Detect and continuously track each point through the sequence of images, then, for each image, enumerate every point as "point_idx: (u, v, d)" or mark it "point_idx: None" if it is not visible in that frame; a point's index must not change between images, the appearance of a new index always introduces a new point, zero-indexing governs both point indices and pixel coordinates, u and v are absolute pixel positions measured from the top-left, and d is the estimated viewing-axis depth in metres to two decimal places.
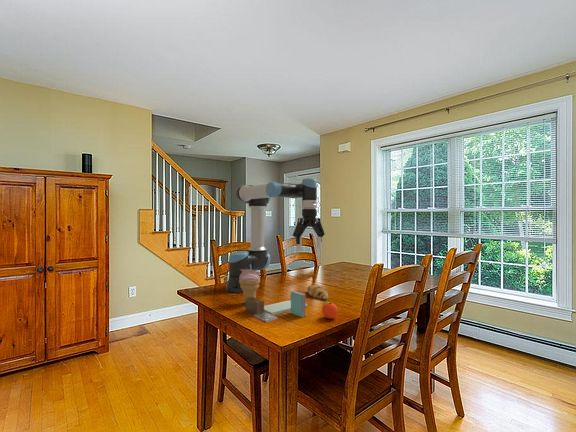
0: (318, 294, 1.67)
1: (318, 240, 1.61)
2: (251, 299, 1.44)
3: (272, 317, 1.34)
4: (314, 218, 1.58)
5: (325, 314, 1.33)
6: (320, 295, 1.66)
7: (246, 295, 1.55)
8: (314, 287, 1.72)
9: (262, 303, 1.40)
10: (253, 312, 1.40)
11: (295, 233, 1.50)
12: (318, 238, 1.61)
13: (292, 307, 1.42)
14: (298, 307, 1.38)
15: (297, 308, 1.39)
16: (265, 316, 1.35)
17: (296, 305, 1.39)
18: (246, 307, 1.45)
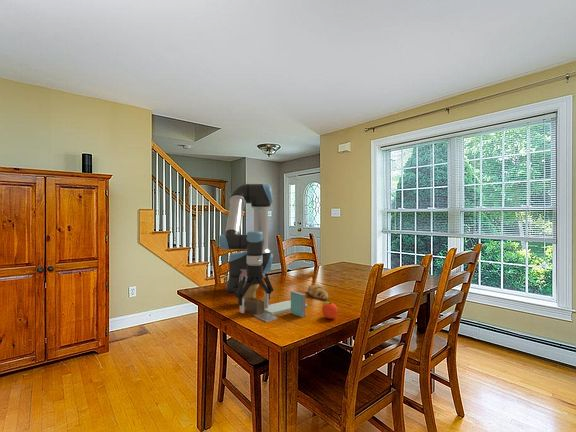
0: (318, 294, 1.67)
1: (266, 297, 1.47)
2: (251, 299, 1.44)
3: (272, 317, 1.34)
4: (260, 274, 1.44)
5: (325, 314, 1.33)
6: (320, 295, 1.66)
7: (246, 295, 1.55)
8: (314, 287, 1.72)
9: (262, 303, 1.40)
10: (253, 312, 1.40)
11: (236, 294, 1.37)
12: (266, 295, 1.47)
13: (292, 307, 1.42)
14: (298, 307, 1.38)
15: (297, 308, 1.39)
16: (265, 316, 1.35)
17: (296, 305, 1.39)
18: (246, 307, 1.45)
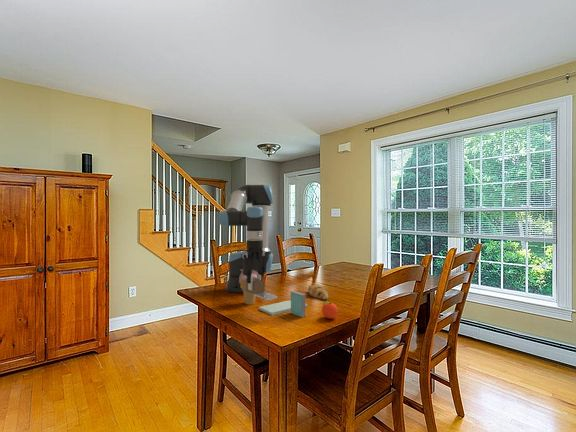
0: (318, 294, 1.67)
1: None
2: None
3: (272, 296, 1.34)
4: (261, 249, 1.44)
5: (325, 314, 1.33)
6: (320, 295, 1.66)
7: (246, 295, 1.55)
8: (314, 287, 1.72)
9: (262, 283, 1.40)
10: (253, 292, 1.41)
11: (244, 272, 1.40)
12: (258, 276, 1.45)
13: (292, 307, 1.42)
14: (298, 307, 1.38)
15: (297, 308, 1.39)
16: (265, 295, 1.36)
17: (296, 305, 1.39)
18: (246, 287, 1.45)
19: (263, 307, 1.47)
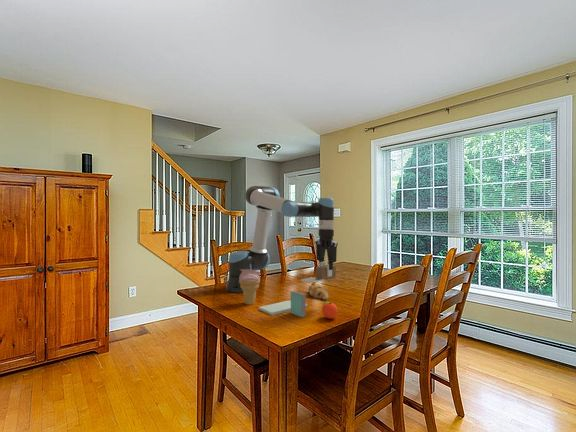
0: (318, 294, 1.67)
1: None
2: (326, 266, 1.53)
3: (308, 280, 1.43)
4: (329, 239, 1.49)
5: (325, 314, 1.33)
6: (320, 295, 1.66)
7: (246, 295, 1.55)
8: (314, 287, 1.72)
9: (320, 269, 1.48)
10: None
11: None
12: None
13: (292, 307, 1.42)
14: (298, 307, 1.38)
15: (297, 308, 1.39)
16: (311, 279, 1.46)
17: (296, 305, 1.39)
18: None
19: (263, 307, 1.47)
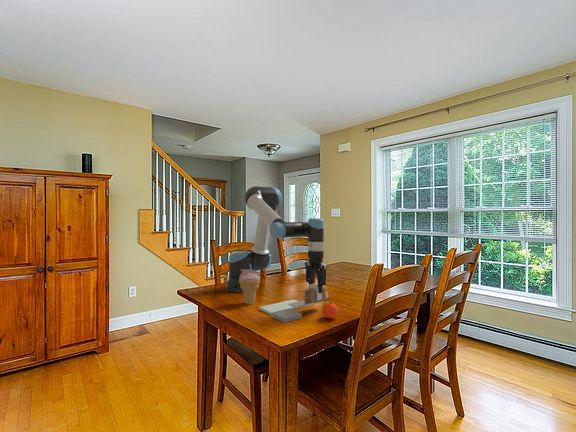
0: None
1: None
2: None
3: (296, 305, 1.38)
4: (318, 261, 1.44)
5: (325, 314, 1.33)
6: None
7: (246, 295, 1.55)
8: (315, 287, 1.72)
9: (309, 292, 1.43)
10: None
11: None
12: None
13: None
14: None
15: None
16: (299, 303, 1.42)
17: None
18: None
19: (263, 307, 1.47)
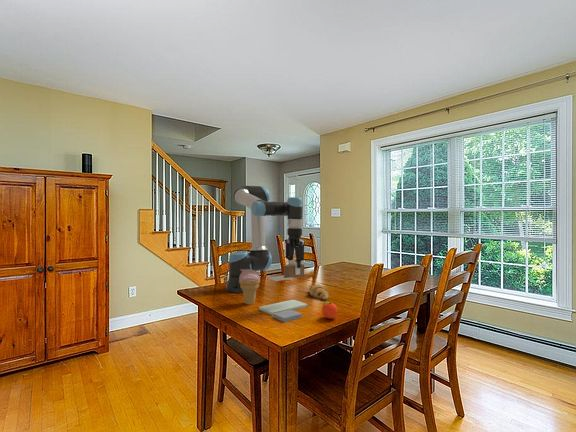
0: (318, 294, 1.67)
1: None
2: None
3: (275, 278, 1.46)
4: (296, 237, 1.52)
5: (325, 314, 1.33)
6: (320, 295, 1.66)
7: (246, 295, 1.55)
8: (315, 287, 1.72)
9: (287, 267, 1.50)
10: None
11: None
12: None
13: None
14: None
15: None
16: (278, 277, 1.49)
17: None
18: None
19: (263, 307, 1.47)
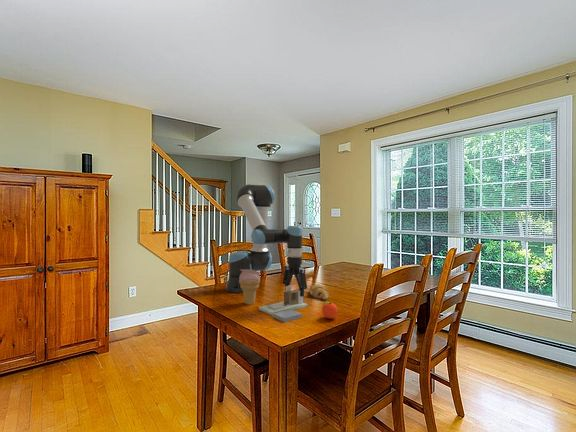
0: (318, 294, 1.67)
1: None
2: (295, 290, 1.56)
3: (275, 306, 1.45)
4: (296, 267, 1.52)
5: (325, 314, 1.33)
6: (320, 295, 1.66)
7: (246, 295, 1.55)
8: (315, 287, 1.72)
9: (287, 294, 1.50)
10: None
11: None
12: None
13: None
14: None
15: None
16: (278, 304, 1.49)
17: None
18: None
19: (263, 307, 1.47)
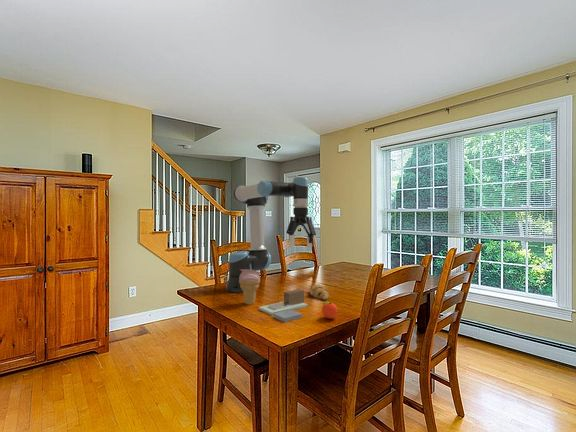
0: (318, 294, 1.67)
1: None
2: (295, 290, 1.56)
3: (275, 306, 1.45)
4: (302, 217, 1.54)
5: (325, 314, 1.33)
6: (320, 295, 1.66)
7: (246, 295, 1.55)
8: (315, 287, 1.72)
9: (287, 294, 1.50)
10: None
11: None
12: None
13: None
14: None
15: None
16: (278, 304, 1.49)
17: None
18: None
19: (263, 307, 1.47)
